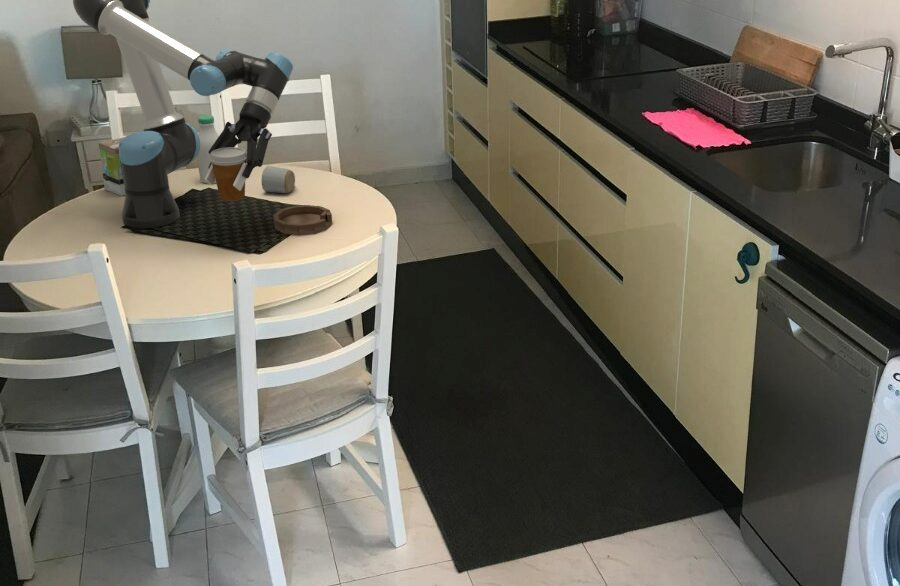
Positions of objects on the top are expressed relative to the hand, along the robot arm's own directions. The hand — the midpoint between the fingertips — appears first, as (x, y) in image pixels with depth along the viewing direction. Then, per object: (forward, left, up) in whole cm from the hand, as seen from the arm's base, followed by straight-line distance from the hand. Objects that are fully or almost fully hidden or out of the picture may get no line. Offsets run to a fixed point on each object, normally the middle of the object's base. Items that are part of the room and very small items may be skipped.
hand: (222, 184), depth 244 cm
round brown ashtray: (+20, +8, -16) cm, 27 cm away
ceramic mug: (+18, +39, -16) cm, 46 cm away
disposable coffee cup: (+2, +2, -4) cm, 6 cm away
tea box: (-25, +54, -16) cm, 62 cm away
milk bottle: (-2, +54, -16) cm, 57 cm away
